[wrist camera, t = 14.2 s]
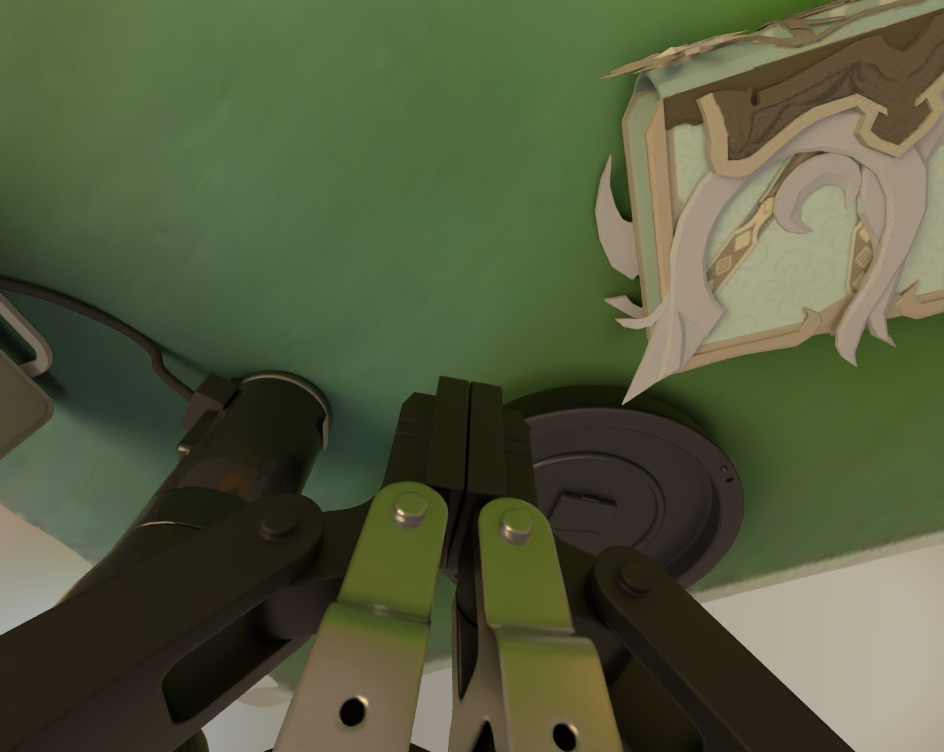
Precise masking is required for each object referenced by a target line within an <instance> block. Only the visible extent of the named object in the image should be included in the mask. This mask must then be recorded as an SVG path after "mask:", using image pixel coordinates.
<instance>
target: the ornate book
mask: <svg viewBox="0 0 944 752" xmlns="http://www.w3.org/2000/svg"><path fill="white" fill-rule="evenodd" d="M835 3H836V4H835ZM832 4H833V5H832ZM829 5H830V6H829ZM826 6H827V7H826ZM746 31H748V30H746ZM755 31H758V32H755V33H752V34H749V35H735V34H738V33H741V32H745V31H741V32H735V33H730V34H725V35H719V36H714V37H711V38H708V39H705V40H702V41H698V42H694V43H689V44H684V45H681V46H679V47H671V48H669V49H667V50H666V51H664V52H663V53H657V54H653V55H650V56H648V57H646V58H645V59H643V60H639V61H636V62H633V63H630V64H627V65H624V66H622V67H620V68H618V69H615V70H613V71H611V72H610V73H613V74H611V75H608V76H606V77H604V78H601V79H605V78H609V77H613V76H616V75H620V74H623V73H626V72H629V71H632V70H636V69H639V68H642V67H645V66H648V67H646V68H644V69H641V70H639V71H637V72H636V73H639V72H640V73H639V75H638V77H637V79H636V82H635V86H634V93H633V95H632V97H631V100H630V102H629V104H628V107H627V109H626V111H625V113H624V116H623V119H622V122H621V125H622V133H623V142H624V150H625V159H626V167H627V176H628V184H629V193H630V201H631V210H632V220H633V221H632V222H628V221H626V220H624V219H622V218H621V216H620V214H619V212H618V210H617V208H616V206H615V203H614V199H613V196H612V192H611V188H610V172H611V154H610V156H609V159H608V161H607V164H606V166H605V169H604V172H603V174H602V177H601V179H600V184H599V190H598V195H597V201H596V207H595V216H596V222H597V228H598V235H599V240H600V242H601V244H602V246H603V249H604V251H605V253H606V255H607V257H608V259H609V262H610V264H611V266H612V267H613V268H615V269H616V270H618V271H619V272H621V273H623V274H624V275H626V276H627V277H629V278H630V279H632V280H634V278H635V277H636V276H637V275H639V278H640V287H641V295H642V304H643V307H641V308H640V307H638V306H636V305H635V304H634V303H633V302H632V301H631V300H630V299H629V298H628V297H627V296H626V295H622V296H617V297H611V298H605V299H604V300H605V301H606V302H608V303H609V304H611V305H613V306H614V307H616V308H618V309H619V310H621V311H623V312H625V313H626V314H628V315H630V316H632V317H634V318H636V319H632V318H615V320H616V321H618V322H619V323H620V324H621V325H622V326H624V327H627V328H633V329H641V328H644V327H645V329H646V337H647V339H649V342H648V345H647V348H646V351H645V354H644V356H643V359H642V361H641V363H640V365H639V367H638V370H637V372H636V374H635V376H634V379H633V381H632V383H631V385H630V387H629V390H628V392H627V394H626V396H625V399H624V401H623V403H622V405H623V404H625V403H626V402H628V401H629V400H631V399H632V398H634V397H635V396H637V395H638V394H640V393H641V392H643V391H644V390H646V389H647V388H649V387H650V386H651V385H653V384H654V383H656V382H658V381H660V380H662V379H664V378H666V377H667V376H669V375H671V374H675V373H680V372H684V371H687V370H690V369H694V368H697V367H701V366H704V365H707V364H711V363H714V362H718V361H721V360H725V359H729V358H733V357H737V356H741V355H747V354H752V353H757V352H764V351H770V350H777V349H783V348H790V347H796V346H798V345H800V344H801V343H802V342H804V341H805V340H807V339H808V338H810V337H811V336H813V335H818V334H822V333H823V335H826V334H830V335H831V336H836V339H835V347H836V348H837V350H838V352H839V354H840V356H841V357H843V358H844V359H846V360H847V361H849V362H850V363H852V364H853V365H855V366H856V367H857V363H856V357H855V352H856V349H857V346H858V344H859V341H860V339H861V336H862V333H863V331H864V329H866V328H867V327H868V329H869V331H870V333H871V335H872V336H874V337H876V338H878V339H880V340H882V341H884V342H886V343H888V344H890V345H892V346H894V347H896V345H895V344H894V342H893V341H892V339H891V338H890V336H889V335H888V332H887V319H889V318H893V317H897V316H902V315H903V316H906V317H910V318H914V319H921V318H924V317H928V316H931V315H935V314H938V313H942V312H944V0H851V1H850V0H837V1H834V2H831V3H828V4H825V5H822V6H819V7H816V8H813V9H810V10H807V11H804V12H801V13H798V14H795V15H793V16H790V17H787V18H783V19H779V20H775V21H772V22H768V23H765V24H764V25H763V26H761V27H760V28H758V29H757V30H755ZM732 35H735V36H732ZM739 37H740V38H739ZM615 72H616V73H615ZM636 73H634V74H636ZM601 79H599V80H601ZM896 348H897V347H896Z"/></svg>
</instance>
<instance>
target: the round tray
mask: <svg viewBox="0 0 944 752" xmlns="http://www.w3.org/2000/svg"><path fill="white" fill-rule="evenodd" d="M627 392H628V390H625V389H620V388H613V387H604V386H574V387H564V388H557V389H551V390H546V391H542V392H538V393H534V394H531V395H528V396H525V397H522V398H519V399H516V400H514V401H512V402H509V403H507V404H505V405H503V406H502V408H507V409H512V410H518V411H519V412H520V413H521V415H522V416H523V418H524V419H525V421H526V422H527V424H528V426H529V433H530V445H531V450H532V459H533V467H534V476H535V484H536V493H537V501H538V508H539V510H540V511H541V512H542V513H543V514H544V516H545V517H546V518H547V520H548V522H549V524H550V526H551V529H552V532H553V533H554V534H555V535H557V536H558V537H559V538H561V539H562V540H564V541H565V542H567V543H569V544H571V545H573V546H575V547H578V548H580V549H582V550H584V551H586V552H589V553H591V554H593V555H595V556H598V555H599V553H600V552H601V551H603V550H604V549H606V548H608V547H612V546H626V547H630V548H633V549H635V550H638V551H640V552H642V553H644V554H645V555H647V556H648V557H650V558H651V559H652V560H653V561H655V562H656V563H657V564H658V565H659V566H660V567H661V568H662V569H663V570H664V571H665V572H666V573H667V574H668V575H669V576H671V577H672V578H673V579H674V580H675V581H676V582H677V583H678V584H679V585H680V586H681V587H682V588H683V589H684V590H685V589H687V588H689V587H690V586H692V585H693V584H695V583H696V582H697V581H699V580H700V579H701V578H703V577H704V576H705V575H706V574H707V573H709V572H710V571H711V570H712V569H713V568H714V567H715V566H716V565H717V564H718V563H719V562H720V561H721V559H722V558H723V557H724V556H725V555H726V553H727V552H728V550H729V549H730V547H731V546H732V544H733V542H734V541H735V539H736V537H737V534H738V532H739V529H740V527H741V523H742V519H743V513H744V493H743V488H742V484H741V480H740V478H739V475H738V473H737V471H736V469H735V467H734V465H733V464H732V462H731V460H730V459H729V458H728V456H727V455H726V453H725V452H724V451H723V450H722V448H721V447H720V446H719V445H718V444H717V443H716V442H715V441H714V440H713V439H712V438H711V437H710V436H709V435H708V434H707V433H706V432H705V431H704V430H703V429H702V428H701V427H700V426H699V425H697V424H696V423H695V422H694V421H693V420H691V419H690V418H689V417H688V416H686V415H685V414H683V413H682V412H680V411H679V410H677V409H675V408H673V407H671V406H670V405H668V404H666V403H664V402H662V401H660V400H657V399H655V398H653V397H650V396H647V395H644V394H641V393H640V394H638V395H637V396H635V397H634V398H632V399H631V400H629V401H628V402H626V403H625V404H623V405H622V403H623V401H624V399H625V396H626V394H627ZM446 557H447V553H446ZM446 557H445V560H444V564H443V568H441V570H442V571H443V572H444V573H445V575H446V576H447V577H448V578H449V579H450V580H451V581H453V582H454V583H455V584H456V585H457V573H458V570H452V569H446Z"/></svg>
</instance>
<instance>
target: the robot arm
mask: <svg viewBox="0 0 944 752" xmlns="http://www.w3.org/2000/svg"><path fill="white" fill-rule="evenodd" d="M0 289H4V290H8V291H13V292H17V293H22V294H26V295H30V296H34V297H37V298H40V299H44V300H47V301H50V302H52V303H55V304H58V305H60V306H63V307H65V308H68V309H70V310H73V311H75V312H77V313H80V314H82V315H85V316H87V317H90V318H92V319H94V320H97V321H99V322H101V323H103V324H105V325H107V326H110V327H112V328H114V329H116V330H117V331H119V332H121V333H123V334H125V335H126V336H128V337H129V338H131V339H132V340H134V341H135V342H136V343H138V344H139V345H140V346H141V347H143V348H144V349H145V350H146V351H147V352H148V353H149V354H150V356H151V360H152V366H153V369H154V370H155V372H156V373H157V374H158V376H159V377H160V378H161V379H162V380H163V381H164V382H165V383H166V384H168V385H169V386H170V387H171V388H173V389H174V390H175V391H177V392H178V393H179V394H181V395H182V396H183V397H184V398H186V399H187V400H188V401H189V404H188V407H187V409H186V411H185V413H184V415H183V417H182V419H181V421H180V423H179V427H181V428H183V429H185V430H187V431H188V433H187V434H186V435H185V436H184V438H183V439H182V440H181V441H180V443H179V444H178V447H177V454H178V459H179V463H178V464H177V465H176V467H175V468H174V469H173V471H172V472H171V473H170V475H169V476H168V477H167V478H166V480H165V481H164V482H163V484H162V485H161V486H160V487H159V489H158V490H157V491H156V493H155V494H154V495H153V497H152V498H151V499H150V500H149V502H148V503H147V505H146V506H145V507H144V508H143V510H142V511H141V512H140V514H139V515H138V516H137V517H136V519H135V520H134V521H133V523H132V524H131V525H130V527H129V528H128V529H127V530H126V532H125V533H124V534H123V536H122V537H121V538H120V539H119V541H118V542H117V543H116V545H115V546H114V547H113V548H112V550H111V551H110V552H109V553H108V554H107V555H106V556H105V557H104V558H103V559H102V560H101V561H100V562H99V563H98V564H97V565H96V566H94V567H93V568H92V569H91V570H90V571H89V572H88V573H86V574H85V575H84V576H83V577H82V578H81V579H80V580H79V581H78V582H77V583H75V584H74V585H73V586H72V587H71V588H70V589H69V590H68V591H67V592H66V593H65V594H64V595H63V596H62V598H61V599H60V600H59V601H58V602H57V603H56V604H55V605H54V607H53V608H51V609H49V610H47V611H45V612H43V613H42V614H40V615H38V616H36V617H34V618H32V619H30V620H28V621H26V622H25V623H23V624H21V625H19V626H17V627H15V628H13V629H11V630H10V631H8V632H6V633H4V634H2V635H0V752H209V748H208V744H207V739H206V737H205V734H204V733H203V731H202V730H201V728H202V727H203V726H205V725H206V724H207V723H208V722H209V721H210V720H212V719H213V718H214V717H216V716H217V715H218V714H219V713H220V712H222V711H223V710H224V709H225V708H227V707H228V706H229V705H230V704H231V703H233V702H234V701H235V700H236V699H238V698H239V697H240V696H241V695H242V694H244V693H245V692H246V691H247V690H249V689H250V688H251V687H252V686H253V685H255V684H256V683H257V682H258V681H260V680H261V679H262V678H263V677H264V676H266V675H267V674H268V673H269V672H270V671H272V670H273V669H274V668H275V667H277V666H278V665H279V664H280V663H281V662H283V661H284V660H285V659H286V658H288V657H289V656H290V655H291V654H292V653H294V652H295V651H296V650H297V649H299V648H300V647H301V646H302V645H303V644H305V643H306V642H307V641H308V640H309V638H310V637H311V636H312V635H313V634H316V637H315V639H314V642H313V644H312V647H311V650H310V652H309V655H308V658H307V660H306V663H305V666H304V668H303V671H302V674H301V676H300V679H299V681H298V684H297V687H296V689H295V692H294V695H293V697H292V700H291V703H290V706H289V708H288V711H287V713H286V716H285V719H284V722H283V724H282V727H281V729H280V732H279V734H278V737H277V740H276V742H275V745H274V748H273V749H269V750H266V751H264V752H430V751H428V750H426V749H423V748H421V747H419V746H417V745H415V744H412V743H410V741H411V735H412V729H413V723H414V718H415V712H416V707H417V701H418V695H419V689H420V684H421V678H422V673H423V667H424V661H425V656H426V650H427V644H428V638H429V632H430V624H431V620H430V615H431V609H432V603H433V598H434V592H435V587H436V581H437V576H438V570H439V568H443V564H444V560H445V557H446V553H447V557H446V569H452V570H458V573H457V588H456V591H455V595H454V598H453V602H452V680H453V710H452V722H451V728H450V735H449V746H448V752H855V751H854V750H853V749H852V748H851V747H850V746H849V745H848V744H847V743H845V742H844V741H843V740H842V739H841V738H840V737H839V736H838V735H837V734H836V733H835V732H834V731H833V730H832V729H831V728H830V727H829V726H828V725H827V724H825V723H824V722H823V721H822V720H821V719H820V718H819V717H818V716H817V715H816V714H815V713H814V712H813V711H812V710H811V709H810V708H809V707H808V706H807V705H805V704H804V703H803V702H802V701H801V700H800V699H799V698H798V697H797V696H796V695H795V694H794V693H793V692H792V691H791V690H790V689H789V688H787V687H786V686H785V685H784V684H783V683H782V682H781V681H780V680H779V679H778V678H777V677H776V676H775V675H774V674H773V673H772V672H771V671H769V669H768V668H766V667H765V666H764V665H763V664H762V663H761V662H760V661H759V660H758V659H757V658H756V657H755V656H754V655H753V654H752V653H751V652H750V651H749V650H747V649H746V648H745V647H744V646H743V645H742V644H741V643H740V642H739V641H738V640H737V639H736V638H735V637H734V636H733V635H732V634H730V632H729V631H727V630H726V629H725V628H724V627H723V626H722V625H721V624H720V623H719V622H718V621H717V620H716V619H715V618H714V617H713V616H712V615H711V614H709V613H708V612H707V611H706V610H705V609H704V608H703V607H702V606H701V605H700V604H699V603H698V602H697V601H696V600H695V599H694V598H693V597H692V596H691V595H690V594H688V593H687V592H686V591H685V590H684V589H683V588H682V587H681V586H680V585H679V584H678V583H677V582H676V581H675V580H674V579H673V578H672V577H671V576H669V575H668V574H667V573H666V572H665V571H664V570H663V569H662V568H661V567H660V566H659V565H658V564H657V563H656V562H655V561H653V560H652V559H651V558H650V557H648V556H647V555H645V554H644V553H642V552H640V551H638V550H635V549H633V548H630V547H626V546H612V547H608V548H606V549H604V550H603V551H601V552H600V553H599V555H598V556H595V555H593V554H591V553H589V552H586V551H584V550H582V549H580V548H578V547H575V546H573V545H571V544H569V543H567V542H565V541H564V540H562V539H561V538H559V537H558V536H557V535H555V534H554V533H553V532H552V529H551V526H550V524H549V522H548V520H547V518H546V517H545V516H544V514H543V513H542V512H541V511H540V510H539V508H538V501H537V493H536V484H535V476H534V467H533V459H532V450H531V445H530V433H529V426H528V424H527V422H526V421H525V419H524V418H523V416H522V415H521V413H520V412H519V411H518V410H512V409H507V408H502V392H501V387H500V386H495V385H489V384H484V383H478V382H473V381H471V383H470V386H469V381H467V380H461V379H456V378H450V377H445V376H440V377H439V382H438V387H437V392H436V396H434V395H428V394H422V393H417V392H414V393H413V394H412V395H411V396H410V397H409V398H408V399H407V400H406V401H405V402H404V403H403V404H402V408H401V412H400V416H399V421H398V424H397V428H396V433H395V436H394V441H393V445H392V449H391V453H390V457H389V461H388V465H387V469H386V473H385V477H384V481H383V484H382V487H381V488H380V490H379V491H378V493H377V494H376V495H375V496H374V497H373V498H371V499H370V500H369V501H367V502H366V503H364V504H362V505H359V506H357V507H353V508H350V509H344V510H336V511H327V512H322V511H321V509H320V507H319V506H318V505H317V504H316V503H315V502H314V501H313V500H311V499H309V498H308V497H306V496H303V495H301V493H302V491H303V488H304V486H305V484H306V481H307V479H308V477H309V474H310V472H311V470H312V468H313V465H314V463H315V461H316V458H317V456H318V454H319V451H320V449H321V447H322V445H323V446H324V452H325V450H326V447H327V445H328V433H329V431H330V428H331V425H332V414H331V410H330V407H329V404H328V402H327V401H326V399H325V398H324V396H323V395H322V394H321V393H320V392H319V391H318V390H317V389H316V388H315V387H314V386H313V385H311V384H310V383H309V382H307V381H305V380H304V379H302V378H300V377H298V376H295V375H292V374H289V373H285V372H280V371H261V372H257V373H254V374H251V375H249V376H247V377H245V378H235V377H233V378H231V380H230V381H228V380H226V379H224V378H222V377H220V376H218V375H216V374H214V373H211V374H210V375H209V376H208V377H207V378H206V379H205V380H204V381H203V383H202V384H201V385H200V386H199V387H198V388H197V389H196V390H195V392H194V391H192V390H191V389H190V388H189V387H187V386H186V385H185V384H183V383H182V382H181V381H179V380H178V379H177V378H176V377H175V376H173V375H172V374H171V373H170V372H169V371H168V369H167V368H166V367H165V365H164V363H163V358H162V353H161V351H160V350H159V348H158V347H157V346H156V345H155V344H153V343H152V342H151V341H150V340H149V339H148V338H146V337H145V336H144V335H142V334H141V333H139V332H138V331H136V330H135V329H133V328H132V327H130V326H128V325H126V324H125V323H123V322H121V321H119V320H117V319H115V318H113V317H111V316H109V315H107V314H105V313H103V312H101V311H98V310H96V309H94V308H91V307H89V306H87V305H84V304H82V303H79V302H77V301H75V300H72V299H70V298H67V297H65V296H62V295H60V294H57V293H54V292H51V291H48V290H45V289H42V288H38V287H34V286H31V285H27V284H23V283H18V282H14V281H9V280H5V279H1V278H0Z"/></svg>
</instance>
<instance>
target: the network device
mask: <svg viewBox="0 0 944 752" xmlns="http://www.w3.org/2000/svg"><path fill="white" fill-rule="evenodd" d="M0 314H1V315H2V316H3V317H4V318H5V319H6V320H7V321H8V322H9V323H10V324H11V325H12V326H13V327H14V328H15V330H16V331H17V332H18V333H19V334H20V335H21V336H22V337H23V338H24V339H25V340H26V341H27V342H28V343H29V344H30V345H31V346H32V347H33V348H34V349H35V351H36V353H37V359H36V360H33V361H30V362H28V363H25V364H22V365H20V366H17V365H16V364H15V363H14V362H13V361H12V360H11V359H10V358H9V357H8V356H7V355H6V354H5V353H4V352H3V351H2V350H1V349H0V460H1V459H2V458H4V457H5V456H6V455H7V454H8V453H10V452H11V451H12V450H13V449H15V448H16V447H17V446H18V445H20V444H21V443H22V442H23V441H24V440H26V439H27V438H28V437H29V436H31V435H32V434H33V433H34V432H35V431H37V430H38V429H39V428H40V427H42V426H43V425H44V424H45V423H46V422H48V421H49V420H50V419H51V418H52V416H53V413H54V405H53V402H52V400H51V398H50V397H49V396H48V395H47V394H46V393H45V392H44V391H43V390H42V389H41V388H40V387H39V386H38V385H37V384H36V383H35V382H34V381H33V380H32V379H31V378H32V377H35V376H38V375H40V374H42V373H43V372H45V371H46V370H48V369H49V368H50V367H51V365H52V363H53V353H52V350H51V348H50V346H49V344H48V343H47V341H46V340H45V339H44V338H43V337H42V335H41V334H40V333H39V332H38V331H37V330H36V329H35V328H34V327H33V326H32V325H31V324H30V323H29V322H28V321H27V320H26V319H25V318H24V317H23V316H22V314H21V313H20V312H19V311H18V310H17V309H16V308H15V307H14V306H13V305H12V304H11V303H10V302H9V301H8V300H7V299H6V298H5V297H4V296H3V295H2V293H1V292H0Z"/></svg>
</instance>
